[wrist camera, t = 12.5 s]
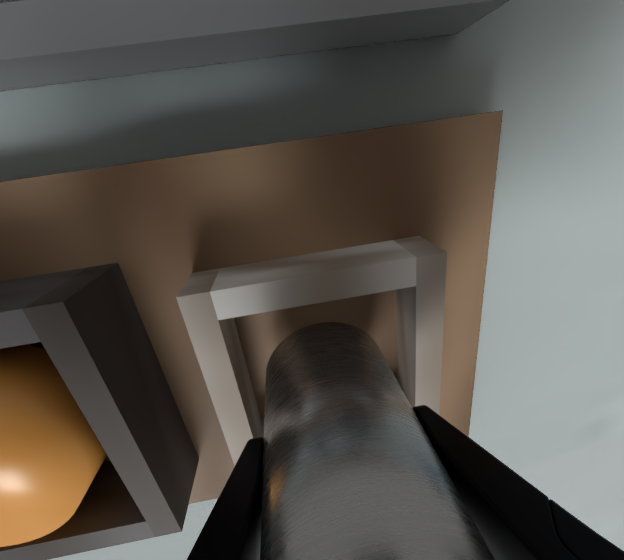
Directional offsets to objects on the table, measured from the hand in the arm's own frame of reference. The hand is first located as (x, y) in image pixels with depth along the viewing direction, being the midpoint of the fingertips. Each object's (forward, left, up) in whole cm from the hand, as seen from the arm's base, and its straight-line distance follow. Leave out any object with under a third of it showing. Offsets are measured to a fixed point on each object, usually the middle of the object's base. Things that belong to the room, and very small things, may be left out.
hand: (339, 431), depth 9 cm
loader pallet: (-5, 0, -5) cm, 7 cm away
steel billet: (0, 0, -2) cm, 2 cm away
